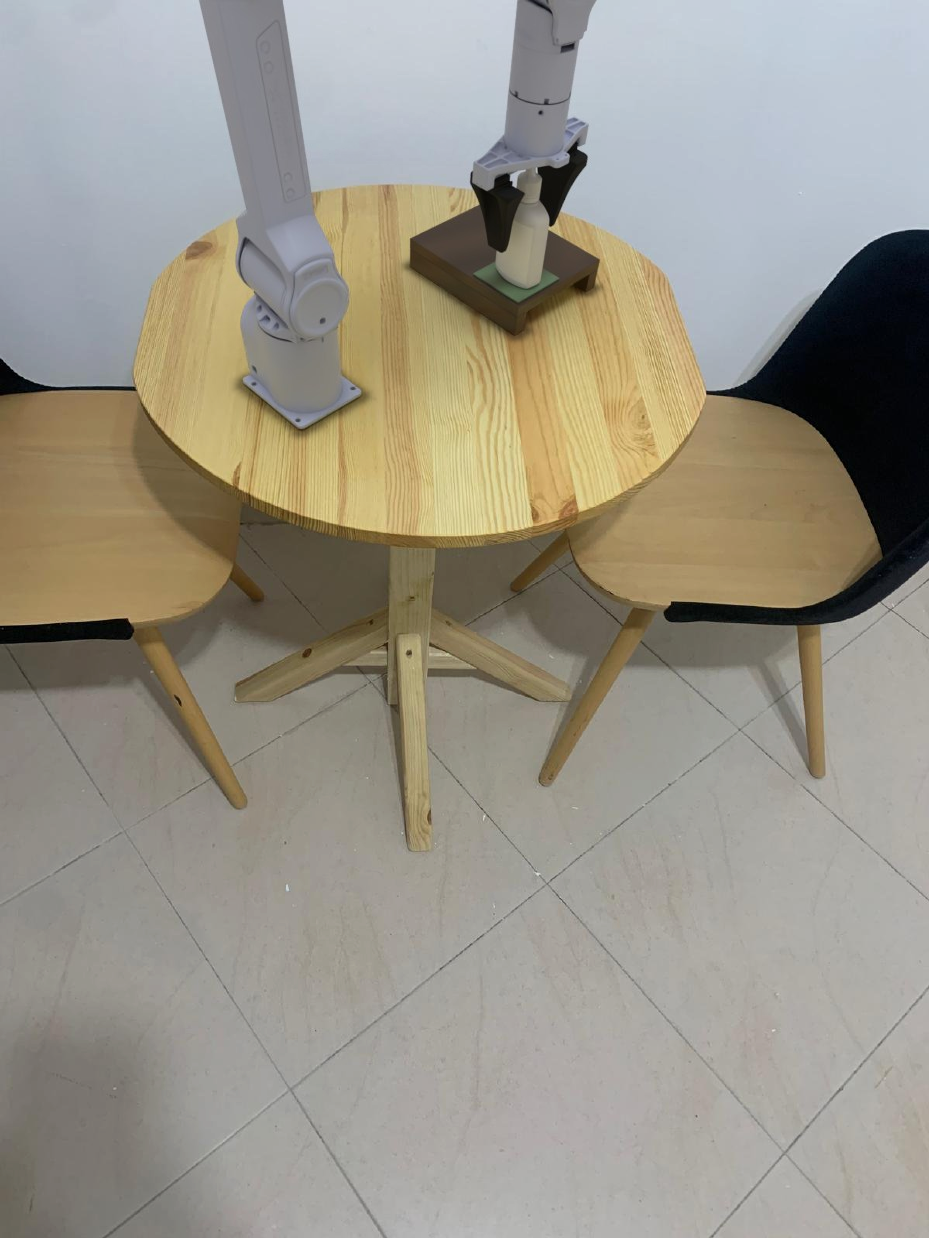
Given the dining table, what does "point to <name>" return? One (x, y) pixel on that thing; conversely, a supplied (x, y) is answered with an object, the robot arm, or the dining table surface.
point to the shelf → (471, 275)
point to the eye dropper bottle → (526, 236)
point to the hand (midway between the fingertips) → (521, 234)
